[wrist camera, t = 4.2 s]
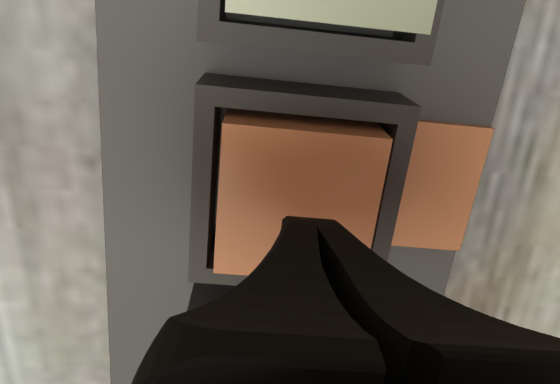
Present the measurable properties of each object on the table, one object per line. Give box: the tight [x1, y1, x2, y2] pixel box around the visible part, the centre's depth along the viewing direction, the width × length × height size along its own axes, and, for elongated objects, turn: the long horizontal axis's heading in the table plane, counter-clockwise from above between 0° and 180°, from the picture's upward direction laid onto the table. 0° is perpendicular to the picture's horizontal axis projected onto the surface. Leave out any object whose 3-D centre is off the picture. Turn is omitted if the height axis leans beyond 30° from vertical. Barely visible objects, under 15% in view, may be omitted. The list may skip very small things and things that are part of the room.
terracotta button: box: [213, 108, 393, 276], centre depth 16 cm, size 5×5×3 cm
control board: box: [95, 0, 526, 384], centre depth 17 cm, size 14×27×4 cm, turn 174°
